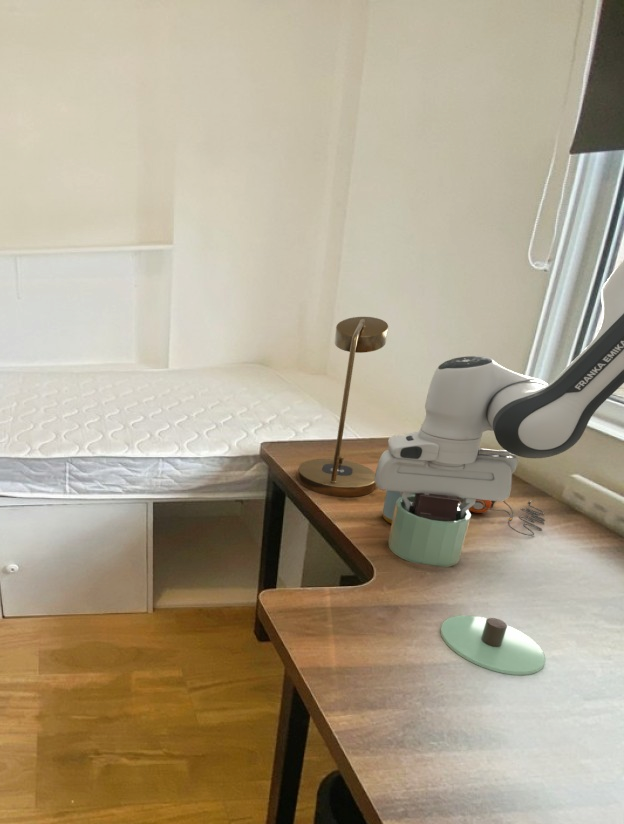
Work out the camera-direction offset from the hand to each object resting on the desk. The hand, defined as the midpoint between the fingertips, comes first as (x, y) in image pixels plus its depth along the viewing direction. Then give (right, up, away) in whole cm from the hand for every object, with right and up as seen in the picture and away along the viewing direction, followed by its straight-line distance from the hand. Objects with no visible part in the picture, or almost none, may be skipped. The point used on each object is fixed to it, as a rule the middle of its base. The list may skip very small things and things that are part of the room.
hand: (432, 514), depth 105 cm
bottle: (+4, -3, +14) cm, 15 cm away
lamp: (+3, +6, +37) cm, 37 cm away
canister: (0, -8, +3) cm, 8 cm away
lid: (-7, -17, -21) cm, 28 cm away
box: (0, -2, +1) cm, 3 cm away
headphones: (+23, -1, +15) cm, 28 cm away
